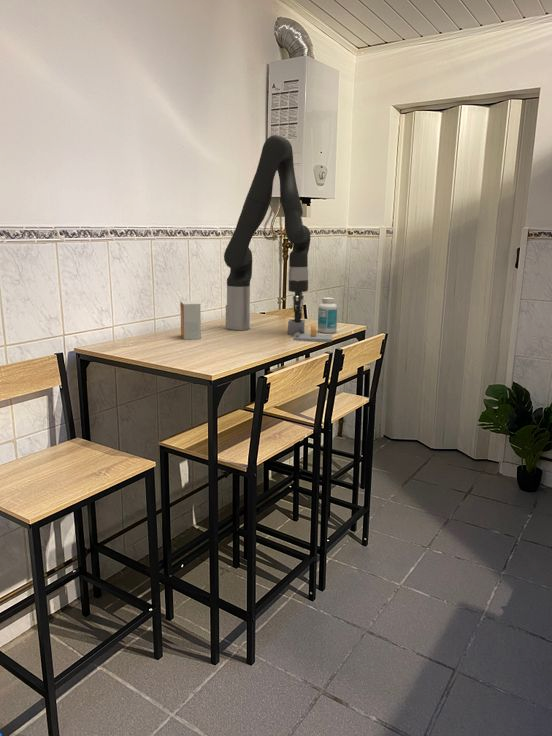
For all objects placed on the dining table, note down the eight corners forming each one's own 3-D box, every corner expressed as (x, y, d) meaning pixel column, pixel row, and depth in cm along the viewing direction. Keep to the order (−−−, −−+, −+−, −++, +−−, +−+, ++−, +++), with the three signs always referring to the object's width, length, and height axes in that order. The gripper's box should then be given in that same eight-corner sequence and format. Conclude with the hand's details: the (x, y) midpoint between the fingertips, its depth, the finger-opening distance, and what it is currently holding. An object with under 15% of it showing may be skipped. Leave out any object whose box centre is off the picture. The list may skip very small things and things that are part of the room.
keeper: (293, 340, 211) (293, 327, 210) (295, 336, 220) (295, 323, 219) (331, 342, 210) (332, 328, 209) (332, 337, 219) (332, 324, 218)
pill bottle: (336, 330, 233) (337, 297, 230) (336, 333, 226) (337, 299, 223) (317, 329, 234) (319, 296, 231) (317, 333, 227) (318, 298, 224)
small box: (180, 335, 217) (180, 300, 213) (197, 335, 218) (197, 300, 215) (183, 339, 209) (183, 303, 206) (201, 339, 211) (200, 303, 208)
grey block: (287, 334, 223) (288, 321, 222) (289, 331, 229) (289, 319, 227) (303, 335, 222) (303, 322, 221) (304, 332, 228) (304, 319, 227)
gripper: (290, 277, 228) (289, 318, 231) (287, 280, 214) (287, 323, 218) (309, 277, 227) (308, 318, 231) (307, 280, 213) (306, 323, 217)
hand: (298, 320), depth 224 cm, fingers open, 8 cm apart
